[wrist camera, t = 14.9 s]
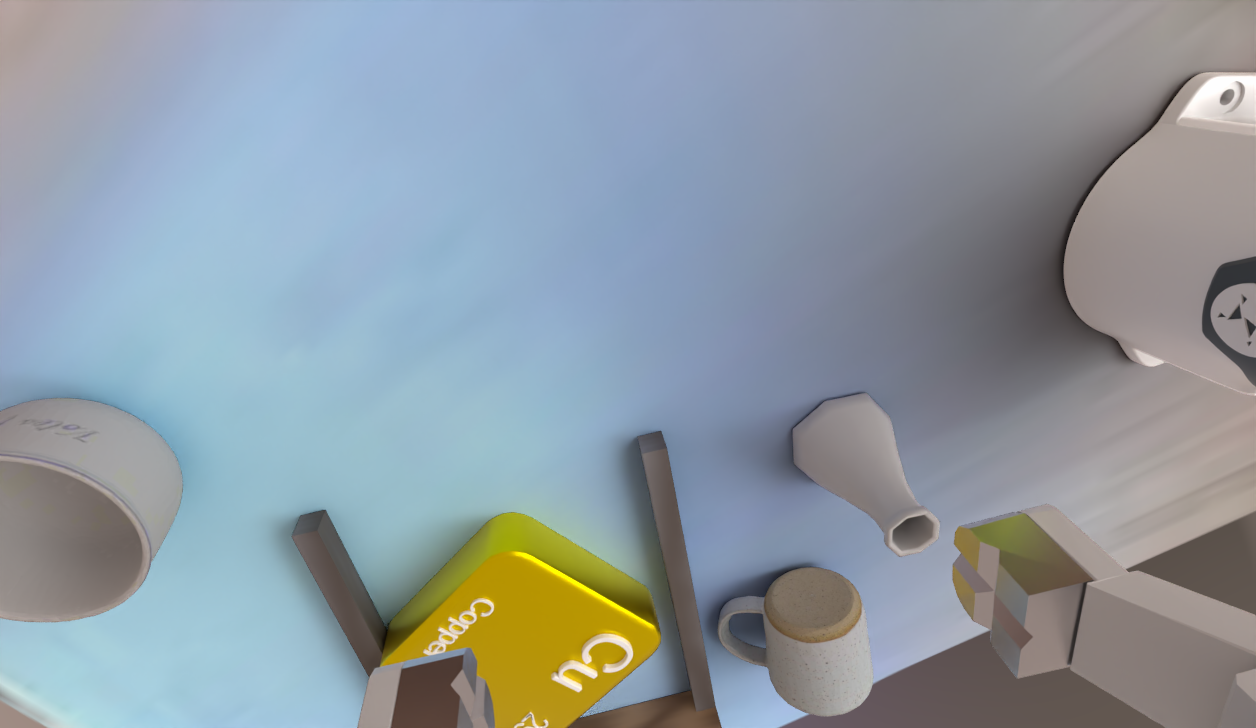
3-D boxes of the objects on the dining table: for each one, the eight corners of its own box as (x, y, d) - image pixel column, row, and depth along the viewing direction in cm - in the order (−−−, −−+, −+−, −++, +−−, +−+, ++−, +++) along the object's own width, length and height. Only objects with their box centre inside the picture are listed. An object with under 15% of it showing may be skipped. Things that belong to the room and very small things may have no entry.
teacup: (137, 349, 37) (47, 426, 30) (244, 496, 42) (188, 592, 35) (-103, 427, 37) (-248, 522, 30) (33, 565, 42) (-65, 674, 35)
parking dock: (661, 431, 44) (673, 466, 41) (715, 715, 58) (727, 760, 55) (300, 515, 43) (281, 559, 40) (443, 784, 57) (438, 834, 54)
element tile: (506, 498, 46) (504, 547, 41) (662, 593, 52) (675, 644, 47) (376, 631, 49) (363, 688, 45) (536, 705, 55) (538, 762, 51)
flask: (809, 496, 49) (872, 601, 40) (774, 423, 45) (835, 519, 37) (901, 451, 48) (986, 548, 39) (873, 374, 45) (959, 460, 36)
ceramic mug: (839, 548, 52) (886, 628, 45) (847, 621, 55) (891, 705, 49) (705, 584, 52) (731, 669, 45) (722, 654, 55) (748, 743, 49)
